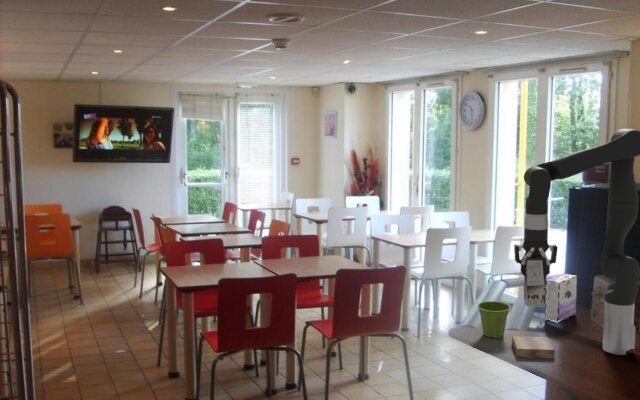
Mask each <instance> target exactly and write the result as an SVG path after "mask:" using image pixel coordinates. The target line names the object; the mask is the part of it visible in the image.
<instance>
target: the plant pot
mask: <svg viewBox="0 0 640 400" xmlns="http://www.w3.org/2000/svg"><path fill="white" fill-rule="evenodd" d="M476 306H477V309H478V310H479V314H480V315H479V316H480V321H481V328H482V332H483V336H484V335H486V336H488V337H487V338H491V337H493V338H492V339H501V338H502V337H504V335H505V330H506V325H507V319H508V315H509V312H510V310H511V309H512V307H511V305H510V304H508V303H506V302H502V301H496V300H495V301H494V300H491V301H490V300H489V301H487V300H486V301H481V302H479V303H477V305H476ZM486 336H485V337H486Z"/></svg>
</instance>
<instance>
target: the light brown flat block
mask: <svg viewBox="0 0 640 400" xmlns="http://www.w3.org/2000/svg"><path fill="white" fill-rule="evenodd" d="M511 345H512V347H514V348H513V350H514V353H515V352H516V353H515V355H516V357H517V358H523V359H525V357H527V359H528V358H529V359H531V358H532V359H555V352H556V350H555V348H554V346H553V344H552V342H551V341H550V339H549V337H547V336H516V335H515V336H514V335H513V336H512V339H511Z"/></svg>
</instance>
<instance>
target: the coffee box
mask: <svg viewBox="0 0 640 400" xmlns="http://www.w3.org/2000/svg"><path fill="white" fill-rule="evenodd" d="M525 265H526V276H523V301H524V303H525V306H526V307H531V308H532V307H533V308H534V307H535V308H545V299H546V280H547V276H546V266H547V260H546V258H543V257H542V256H541V257H536V256H535V257H531V256H530V257H529V258H526V263H525Z"/></svg>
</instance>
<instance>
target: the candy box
mask: <svg viewBox="0 0 640 400" xmlns="http://www.w3.org/2000/svg"><path fill="white" fill-rule="evenodd" d="M577 284H578V276H577V275H573V274H570V273H562V274H559V275H556V276H554V277H551V278H548V279H546V298H545V307H544V308H545V309H544V321H547V320H549V319H550V320H556V321H558V320H561V319H564V318H566V317H569V316H572V315H574V314H576V315H577V293H578V292H577V291H578V290H577V289H578V287H577V286H578V285H577Z"/></svg>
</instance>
